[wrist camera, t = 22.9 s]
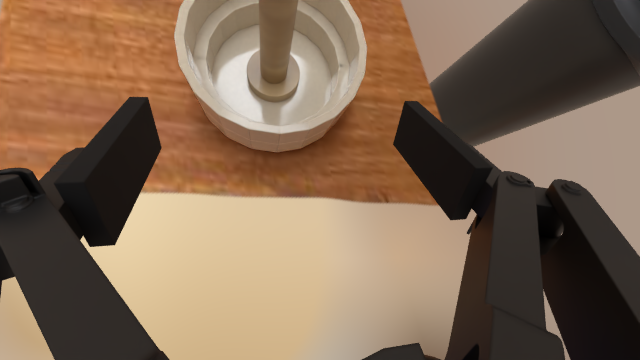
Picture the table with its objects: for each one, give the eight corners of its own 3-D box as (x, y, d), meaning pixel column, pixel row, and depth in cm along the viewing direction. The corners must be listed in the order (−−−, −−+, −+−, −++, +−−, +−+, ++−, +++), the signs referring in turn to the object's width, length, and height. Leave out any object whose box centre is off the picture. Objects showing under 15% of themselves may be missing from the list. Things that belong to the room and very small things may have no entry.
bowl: (369, 114, 28) (398, 85, 22) (242, 180, 24) (235, 167, 19) (301, -4, 28) (311, -64, 22) (167, 46, 25) (138, -8, 19)
